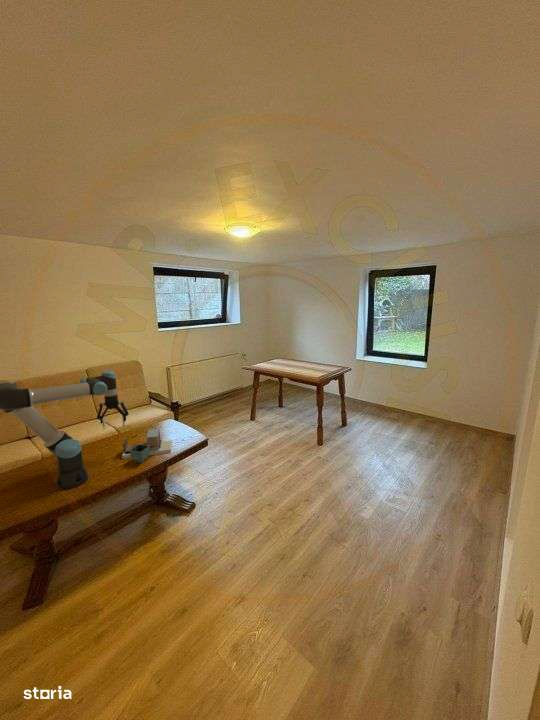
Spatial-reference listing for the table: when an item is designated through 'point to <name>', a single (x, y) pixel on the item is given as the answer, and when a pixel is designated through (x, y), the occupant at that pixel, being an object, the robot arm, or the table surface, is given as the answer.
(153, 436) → the tunnel
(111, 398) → the robot arm
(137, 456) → the flower pot
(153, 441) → the terracotta block
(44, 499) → the table surface
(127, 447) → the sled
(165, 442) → the board
